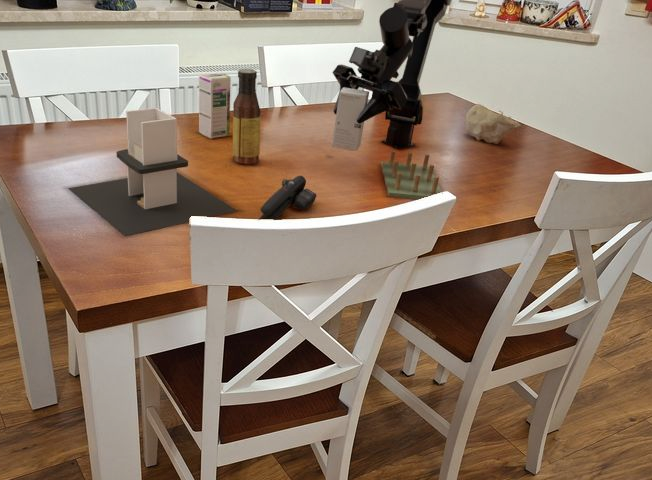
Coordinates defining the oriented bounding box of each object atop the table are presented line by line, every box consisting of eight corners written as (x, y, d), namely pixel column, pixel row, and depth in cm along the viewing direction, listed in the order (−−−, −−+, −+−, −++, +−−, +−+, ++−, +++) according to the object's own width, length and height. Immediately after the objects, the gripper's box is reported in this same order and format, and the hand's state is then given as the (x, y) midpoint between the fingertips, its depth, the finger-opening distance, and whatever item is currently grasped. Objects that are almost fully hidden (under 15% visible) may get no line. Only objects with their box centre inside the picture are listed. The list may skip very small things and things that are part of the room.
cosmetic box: (331, 147, 146) (338, 91, 139) (335, 141, 149) (341, 86, 142) (358, 151, 145) (366, 95, 137) (361, 145, 148) (369, 90, 141)
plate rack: (380, 165, 157) (384, 147, 154) (430, 170, 157) (434, 151, 154) (387, 196, 140) (391, 176, 138) (443, 202, 140) (448, 181, 138)
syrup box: (211, 139, 163) (212, 78, 155) (198, 132, 167) (198, 72, 159) (229, 136, 166) (231, 76, 158) (216, 129, 170) (217, 70, 162)
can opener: (290, 195, 137) (292, 168, 134) (319, 203, 134) (322, 177, 131) (244, 221, 124) (246, 193, 121) (276, 231, 121) (278, 203, 118)
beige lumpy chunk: (456, 137, 189) (458, 112, 174) (472, 117, 188) (475, 91, 174) (499, 166, 185) (505, 143, 170) (516, 145, 184) (523, 121, 170)
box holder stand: (67, 188, 131) (58, 103, 121) (173, 170, 144) (173, 92, 134) (125, 236, 115) (119, 143, 106) (238, 210, 128) (242, 126, 119)
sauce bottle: (263, 160, 153) (269, 71, 142) (250, 167, 148) (255, 75, 137) (239, 154, 155) (243, 65, 144) (226, 161, 151) (229, 70, 139)
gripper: (344, 24, 141) (301, 82, 142) (408, 41, 130) (361, 105, 130) (364, 60, 150) (323, 115, 150) (426, 79, 139) (382, 138, 139)
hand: (345, 117), depth 142 cm, fingers closed on cosmetic box, 7 cm apart
